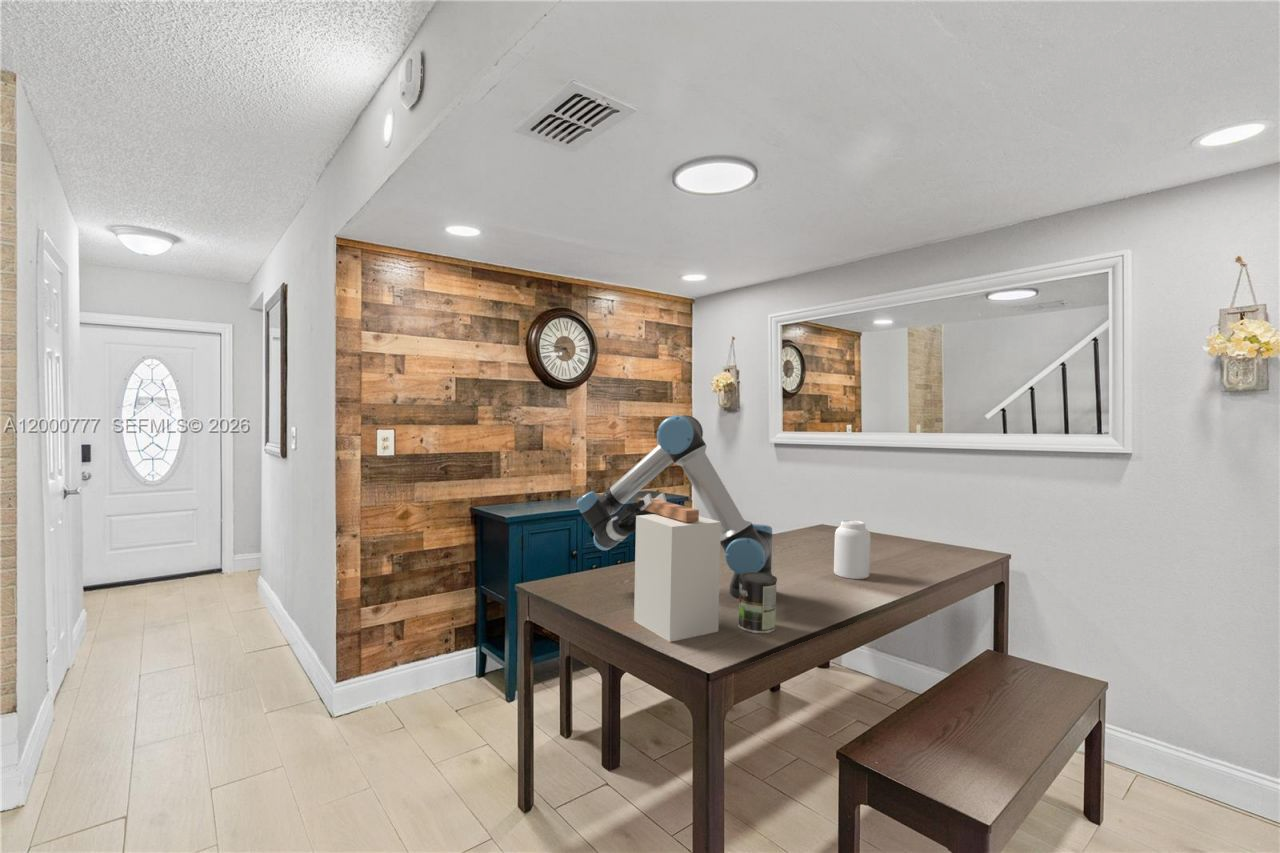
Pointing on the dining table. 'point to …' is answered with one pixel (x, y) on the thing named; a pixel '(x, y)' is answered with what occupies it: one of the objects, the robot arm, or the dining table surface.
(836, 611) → the dining table surface
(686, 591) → the pedestal
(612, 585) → the dining table surface
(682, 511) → the bar
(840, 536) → the white jar
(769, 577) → the coffee can
